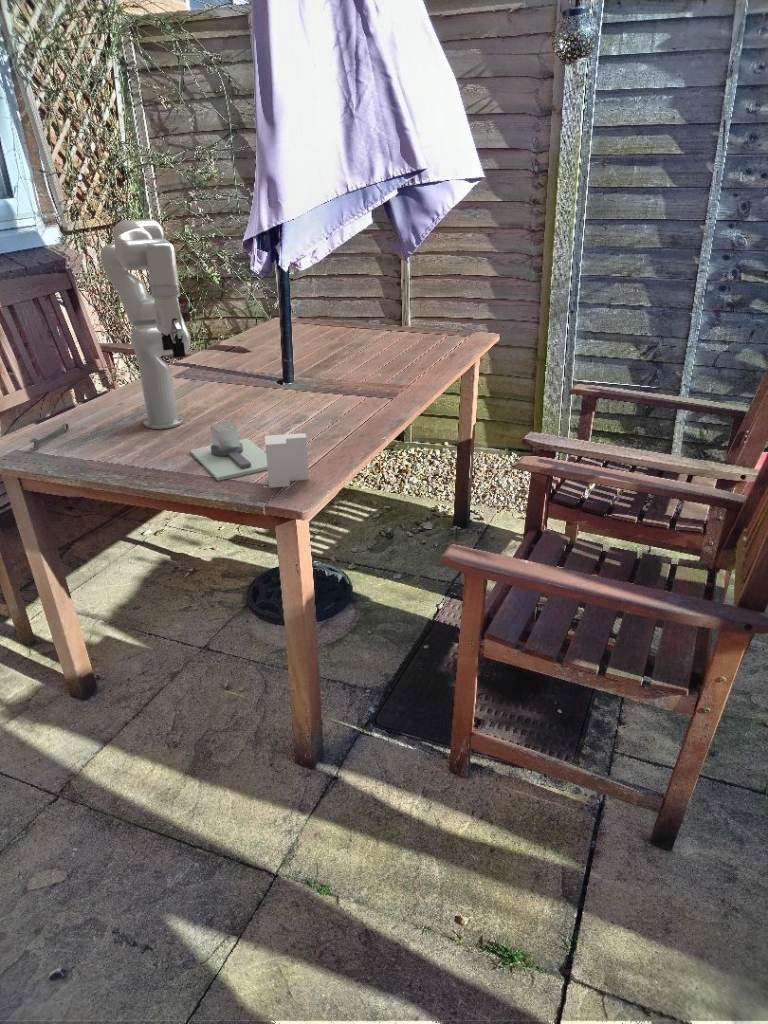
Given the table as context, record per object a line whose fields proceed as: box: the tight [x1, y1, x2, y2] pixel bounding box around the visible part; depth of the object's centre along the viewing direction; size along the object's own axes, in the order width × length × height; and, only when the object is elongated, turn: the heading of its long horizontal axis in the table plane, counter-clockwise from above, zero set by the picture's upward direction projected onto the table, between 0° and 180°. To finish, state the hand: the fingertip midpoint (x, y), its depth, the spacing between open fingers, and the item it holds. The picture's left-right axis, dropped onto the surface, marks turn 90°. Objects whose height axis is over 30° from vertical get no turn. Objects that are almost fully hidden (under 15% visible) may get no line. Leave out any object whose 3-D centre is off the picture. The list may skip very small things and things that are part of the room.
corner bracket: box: [264, 432, 310, 488], centre depth 188 cm, size 11×11×12 cm
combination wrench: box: [29, 423, 70, 452], centre depth 217 cm, size 4×1×20 cm
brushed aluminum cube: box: [210, 421, 240, 451], centre depth 203 cm, size 6×6×6 cm
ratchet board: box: [189, 438, 268, 482], centre depth 201 cm, size 24×18×6 cm
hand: (174, 353), depth 200 cm, fingers open, 9 cm apart
